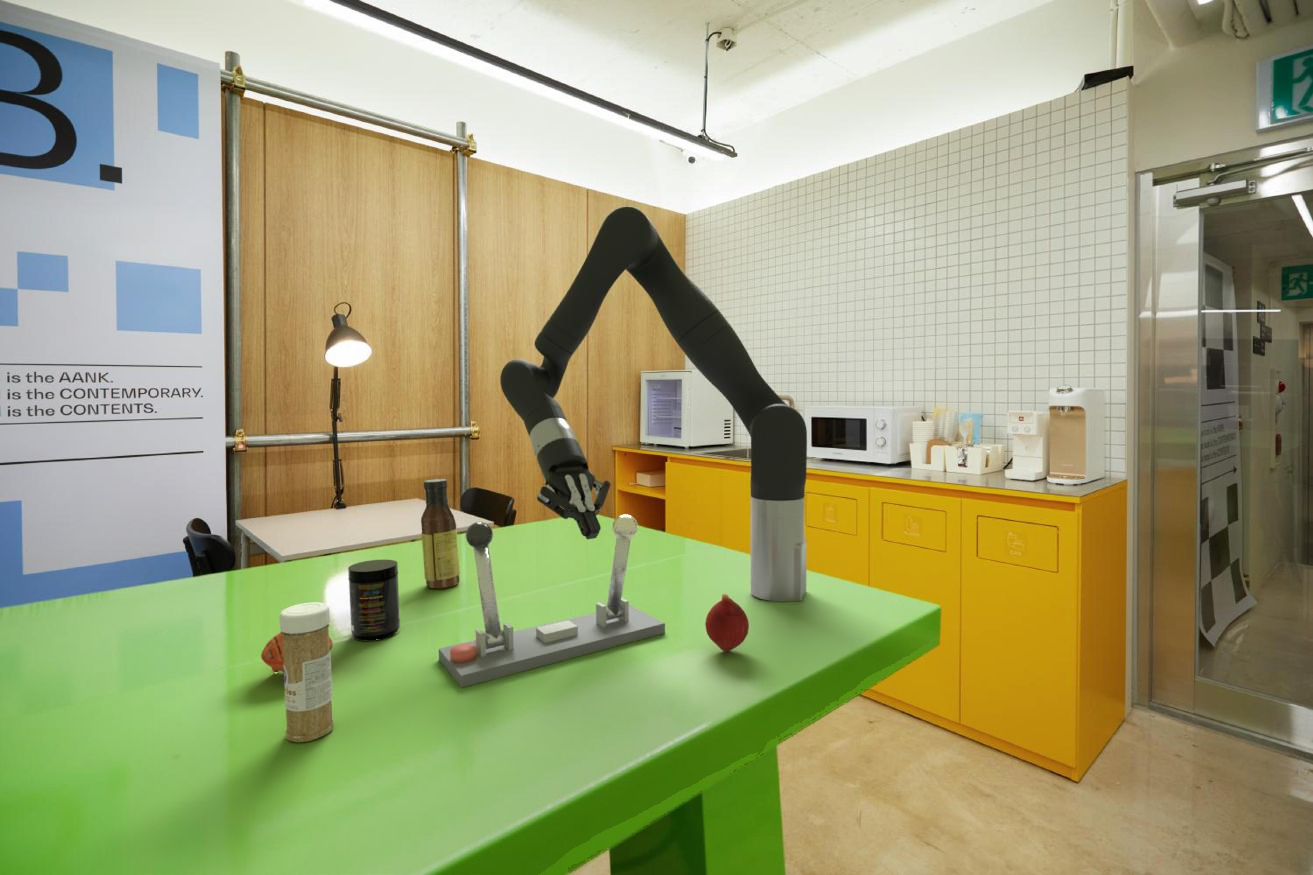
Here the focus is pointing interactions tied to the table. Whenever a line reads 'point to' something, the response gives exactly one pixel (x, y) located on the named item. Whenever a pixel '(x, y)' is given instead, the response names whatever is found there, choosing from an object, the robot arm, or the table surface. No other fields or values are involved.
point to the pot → (277, 653)
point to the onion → (727, 624)
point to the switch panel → (546, 644)
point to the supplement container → (374, 599)
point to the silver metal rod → (486, 582)
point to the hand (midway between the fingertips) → (593, 535)
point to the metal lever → (620, 563)
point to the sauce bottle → (439, 538)
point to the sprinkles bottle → (307, 671)
